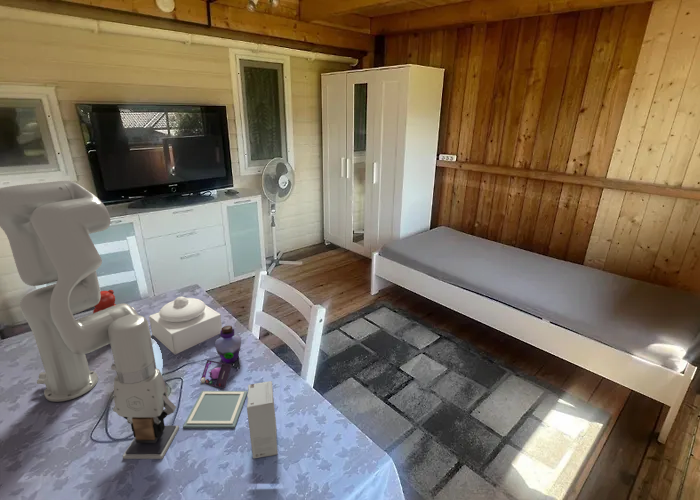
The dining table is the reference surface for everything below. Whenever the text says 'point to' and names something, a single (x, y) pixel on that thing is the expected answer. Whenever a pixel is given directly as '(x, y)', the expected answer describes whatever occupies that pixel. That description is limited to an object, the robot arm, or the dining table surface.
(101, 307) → the stacking bear
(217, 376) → the purple toy box
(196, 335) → the butter dish
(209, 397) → the board
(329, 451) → the dining table surface
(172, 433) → the ink pad
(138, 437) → the stamp
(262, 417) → the skincare box
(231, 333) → the potion bottle
